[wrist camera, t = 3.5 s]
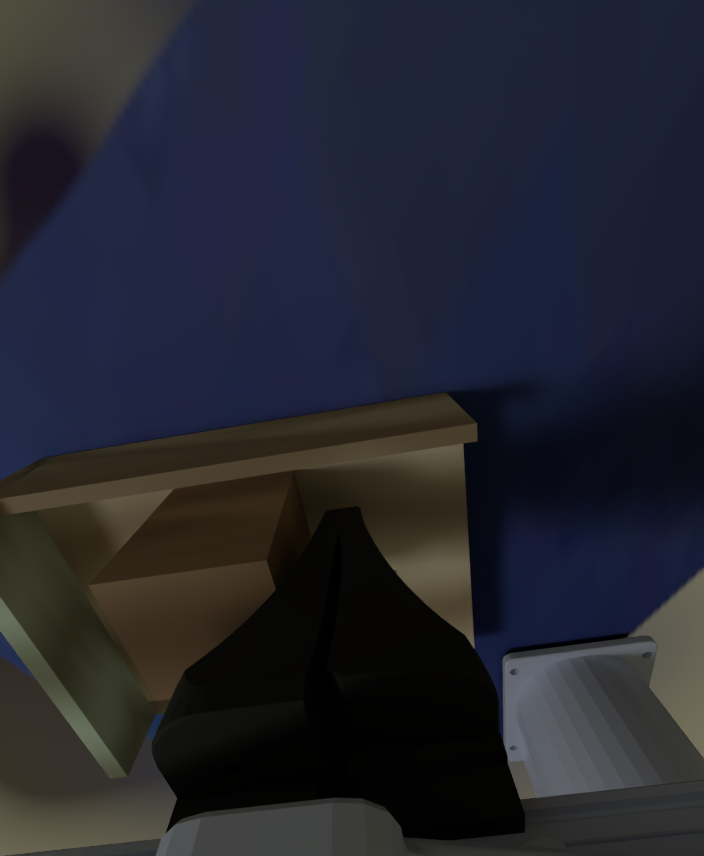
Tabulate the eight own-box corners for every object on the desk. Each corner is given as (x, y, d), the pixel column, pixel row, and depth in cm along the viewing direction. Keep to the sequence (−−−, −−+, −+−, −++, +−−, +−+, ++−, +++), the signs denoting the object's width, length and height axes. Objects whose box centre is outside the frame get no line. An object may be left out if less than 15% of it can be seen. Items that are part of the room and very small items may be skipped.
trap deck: (462, 635, 18) (496, 732, 14) (160, 675, 19) (110, 778, 15) (445, 392, 14) (488, 434, 10) (41, 458, 14) (-80, 523, 10)
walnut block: (318, 566, 14) (305, 682, 10) (211, 581, 14) (155, 701, 10) (294, 470, 12) (266, 560, 8) (174, 488, 13) (88, 585, 9)
